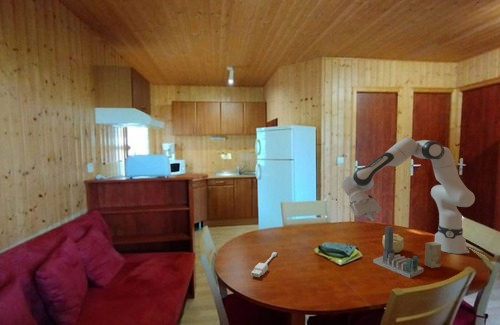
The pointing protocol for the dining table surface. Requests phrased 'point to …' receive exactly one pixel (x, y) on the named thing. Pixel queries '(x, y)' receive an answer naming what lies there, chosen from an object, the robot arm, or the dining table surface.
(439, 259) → the skincare box
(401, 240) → the sculpture
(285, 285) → the dining table surface
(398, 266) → the grey dish rack
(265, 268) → the charging cable
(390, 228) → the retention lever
